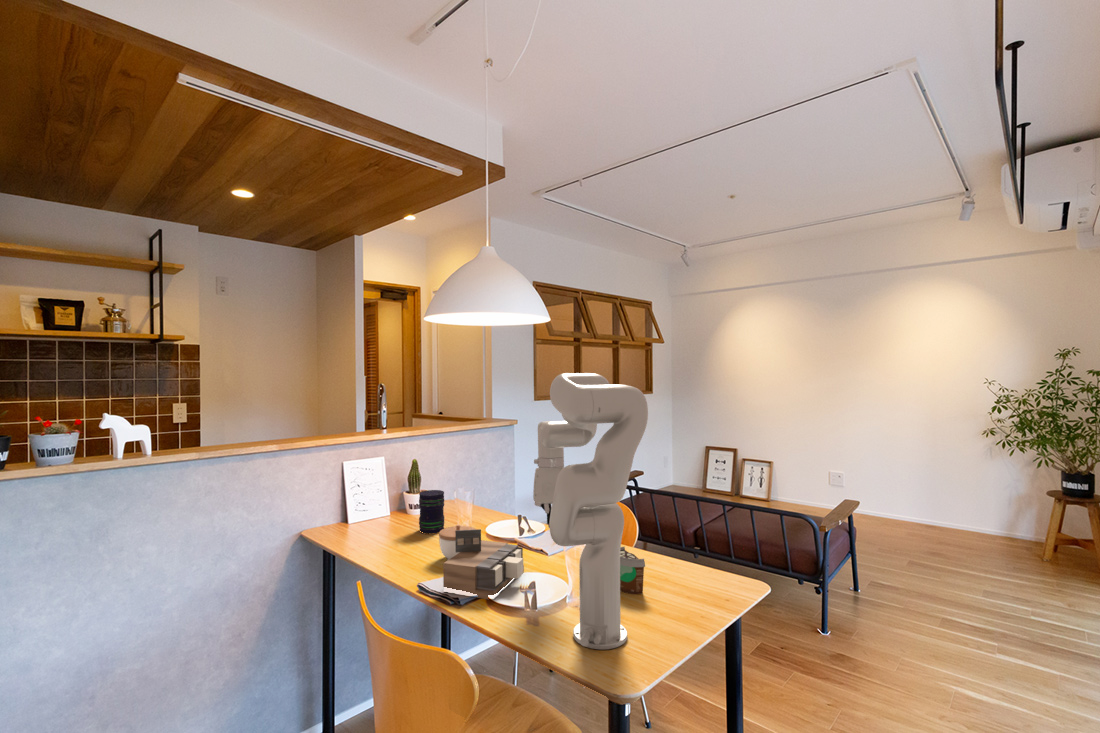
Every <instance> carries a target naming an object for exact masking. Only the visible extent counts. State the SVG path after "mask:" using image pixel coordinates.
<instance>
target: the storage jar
mask: <svg viewBox="0 0 1100 733" xmlns="http://www.w3.org/2000/svg"><path fill="white" fill-rule="evenodd" d="M418 495H419V498H418V507H419V518H418V525H419V530H420V531H421V532H423V533H435V534H438V533H437V532H440V531H441V530H442V529H445V515H444V512H445V511H444V507H445V491H444V490H440V489H430V490H429V489H428V490H424V491H421V492H419V494H418ZM423 533H422V534H423Z"/></svg>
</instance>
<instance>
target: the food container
mask: <svg viewBox="0 0 1100 733" xmlns="http://www.w3.org/2000/svg"><path fill="white" fill-rule="evenodd" d="M625 547H626V546H621V548H620V592H622V593H624V594H630V595H642V594H643V593H644V573H645V572H644V571H645V567H646V563H645V558H639V557H637V556H636V555H635V554H633V553H631V552H629V551H627V550H626V548H625Z"/></svg>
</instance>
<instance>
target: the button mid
mask: <svg viewBox="0 0 1100 733" xmlns="http://www.w3.org/2000/svg"><path fill="white" fill-rule="evenodd" d="M503 561H506V577H508V578H515V580H517V579H519V578H520V577H522V575H523V574H524V572H523V565H524V557H523V558H517V557H506V558H505V559H504V560H503Z"/></svg>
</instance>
